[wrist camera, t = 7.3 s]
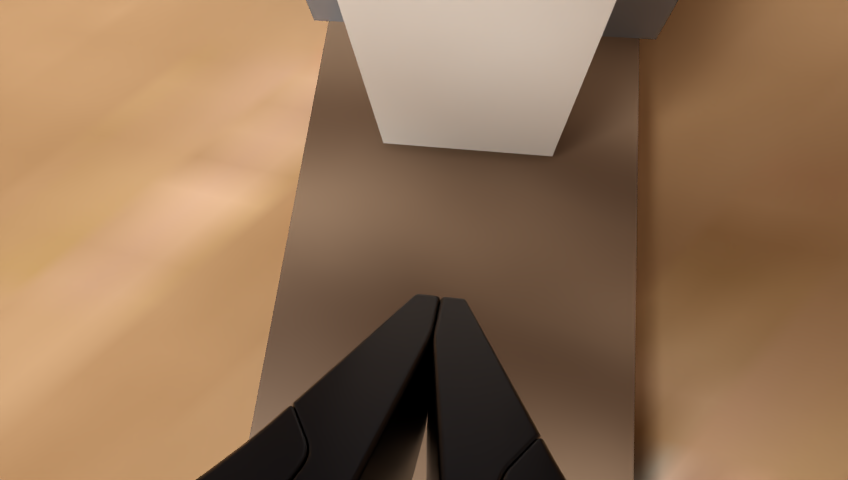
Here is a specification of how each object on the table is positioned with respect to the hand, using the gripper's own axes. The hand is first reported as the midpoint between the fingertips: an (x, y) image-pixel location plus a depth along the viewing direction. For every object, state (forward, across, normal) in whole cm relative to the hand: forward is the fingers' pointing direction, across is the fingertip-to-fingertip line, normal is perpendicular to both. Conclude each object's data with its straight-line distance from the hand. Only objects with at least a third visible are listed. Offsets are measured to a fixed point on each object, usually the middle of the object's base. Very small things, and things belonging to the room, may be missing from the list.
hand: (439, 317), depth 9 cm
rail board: (+9, 0, +1) cm, 9 cm away
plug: (+10, 0, -3) cm, 10 cm away
